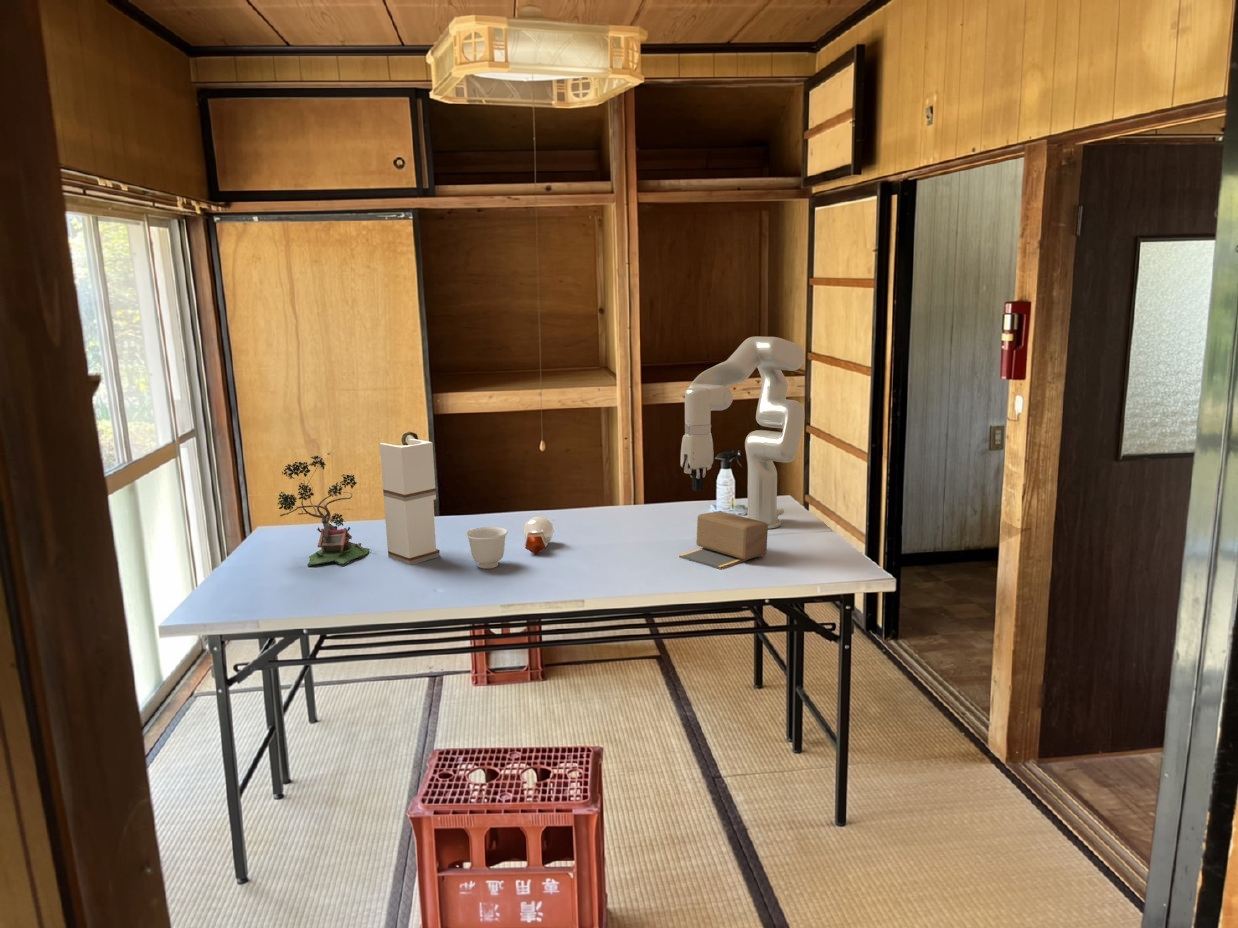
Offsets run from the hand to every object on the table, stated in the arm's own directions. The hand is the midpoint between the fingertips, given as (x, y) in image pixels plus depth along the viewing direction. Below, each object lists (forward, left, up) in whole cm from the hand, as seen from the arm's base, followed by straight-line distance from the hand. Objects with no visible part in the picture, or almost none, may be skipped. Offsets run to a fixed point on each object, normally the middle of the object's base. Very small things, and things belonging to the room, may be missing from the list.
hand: (697, 490), depth 258 cm
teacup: (+53, -35, -19) cm, 66 cm away
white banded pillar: (+64, -57, -19) cm, 88 cm away
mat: (0, +9, -19) cm, 21 cm away
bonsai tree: (+86, -73, -19) cm, 115 cm away
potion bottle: (+32, -37, -19) cm, 53 cm away
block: (-5, -1, -13) cm, 14 cm away
